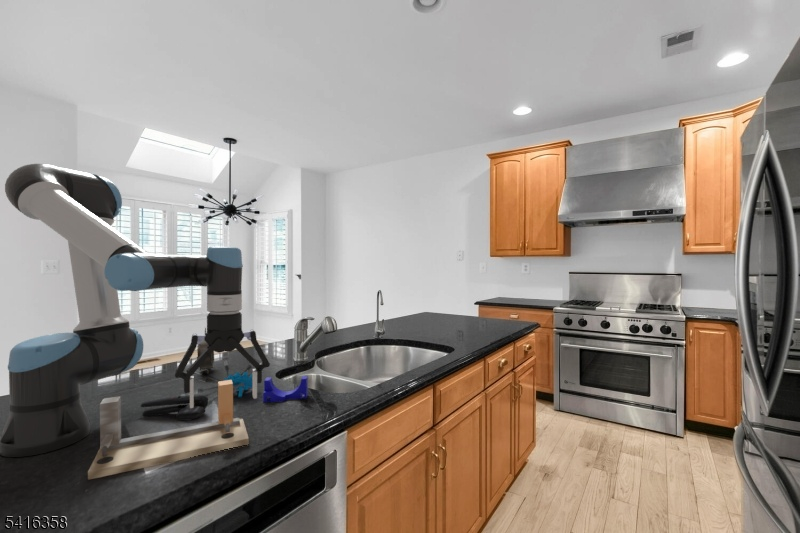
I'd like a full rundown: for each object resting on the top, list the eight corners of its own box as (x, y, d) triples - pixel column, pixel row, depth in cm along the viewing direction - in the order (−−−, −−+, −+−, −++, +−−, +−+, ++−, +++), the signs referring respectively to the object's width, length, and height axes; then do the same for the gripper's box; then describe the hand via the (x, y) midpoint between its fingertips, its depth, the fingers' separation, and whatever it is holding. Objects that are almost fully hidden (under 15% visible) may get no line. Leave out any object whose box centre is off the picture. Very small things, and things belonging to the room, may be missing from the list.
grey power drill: (212, 374, 137) (212, 329, 136) (195, 376, 135) (195, 330, 134) (214, 366, 147) (214, 324, 147) (199, 368, 145) (198, 325, 145)
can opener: (214, 411, 104) (214, 390, 104) (199, 421, 97) (199, 399, 97) (151, 410, 105) (151, 389, 105) (132, 420, 98) (132, 398, 98)
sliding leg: (220, 433, 84) (219, 391, 84) (218, 420, 91) (217, 381, 91) (235, 430, 86) (234, 389, 85) (231, 417, 93) (231, 379, 93)
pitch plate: (87, 479, 71) (87, 418, 71) (101, 451, 81) (101, 397, 81) (248, 445, 84) (248, 393, 84) (242, 424, 95) (242, 378, 95)
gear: (262, 383, 122) (253, 367, 115) (261, 400, 118) (252, 385, 111) (226, 389, 120) (215, 374, 113) (224, 407, 116) (212, 392, 109)
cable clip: (263, 402, 110) (263, 382, 110) (266, 397, 114) (266, 377, 114) (305, 400, 111) (305, 380, 111) (307, 395, 116) (307, 375, 116)
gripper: (161, 317, 81) (161, 416, 81) (281, 311, 93) (281, 397, 93) (163, 312, 88) (163, 404, 88) (276, 307, 99) (275, 388, 100)
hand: (224, 401), depth 91 cm, fingers open, 13 cm apart
